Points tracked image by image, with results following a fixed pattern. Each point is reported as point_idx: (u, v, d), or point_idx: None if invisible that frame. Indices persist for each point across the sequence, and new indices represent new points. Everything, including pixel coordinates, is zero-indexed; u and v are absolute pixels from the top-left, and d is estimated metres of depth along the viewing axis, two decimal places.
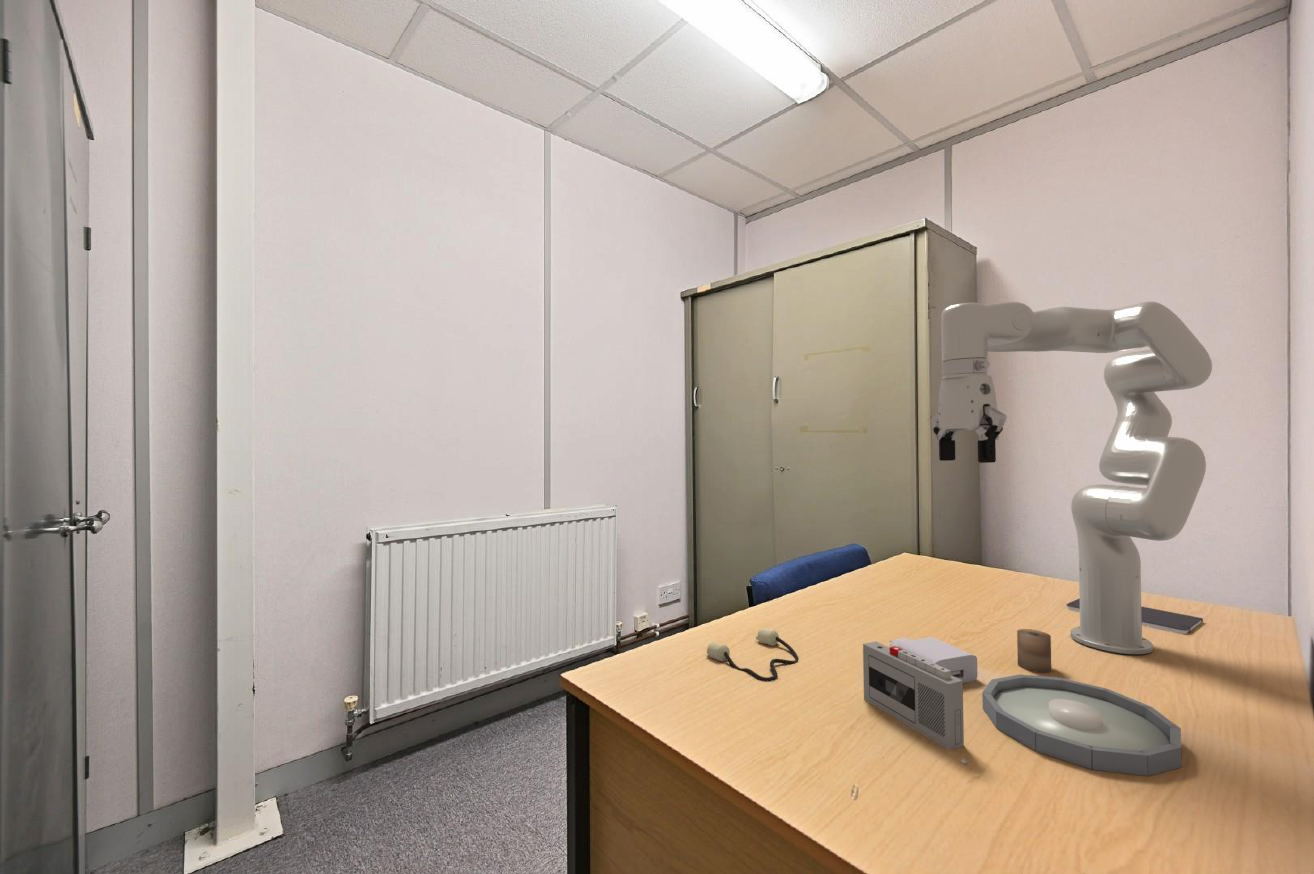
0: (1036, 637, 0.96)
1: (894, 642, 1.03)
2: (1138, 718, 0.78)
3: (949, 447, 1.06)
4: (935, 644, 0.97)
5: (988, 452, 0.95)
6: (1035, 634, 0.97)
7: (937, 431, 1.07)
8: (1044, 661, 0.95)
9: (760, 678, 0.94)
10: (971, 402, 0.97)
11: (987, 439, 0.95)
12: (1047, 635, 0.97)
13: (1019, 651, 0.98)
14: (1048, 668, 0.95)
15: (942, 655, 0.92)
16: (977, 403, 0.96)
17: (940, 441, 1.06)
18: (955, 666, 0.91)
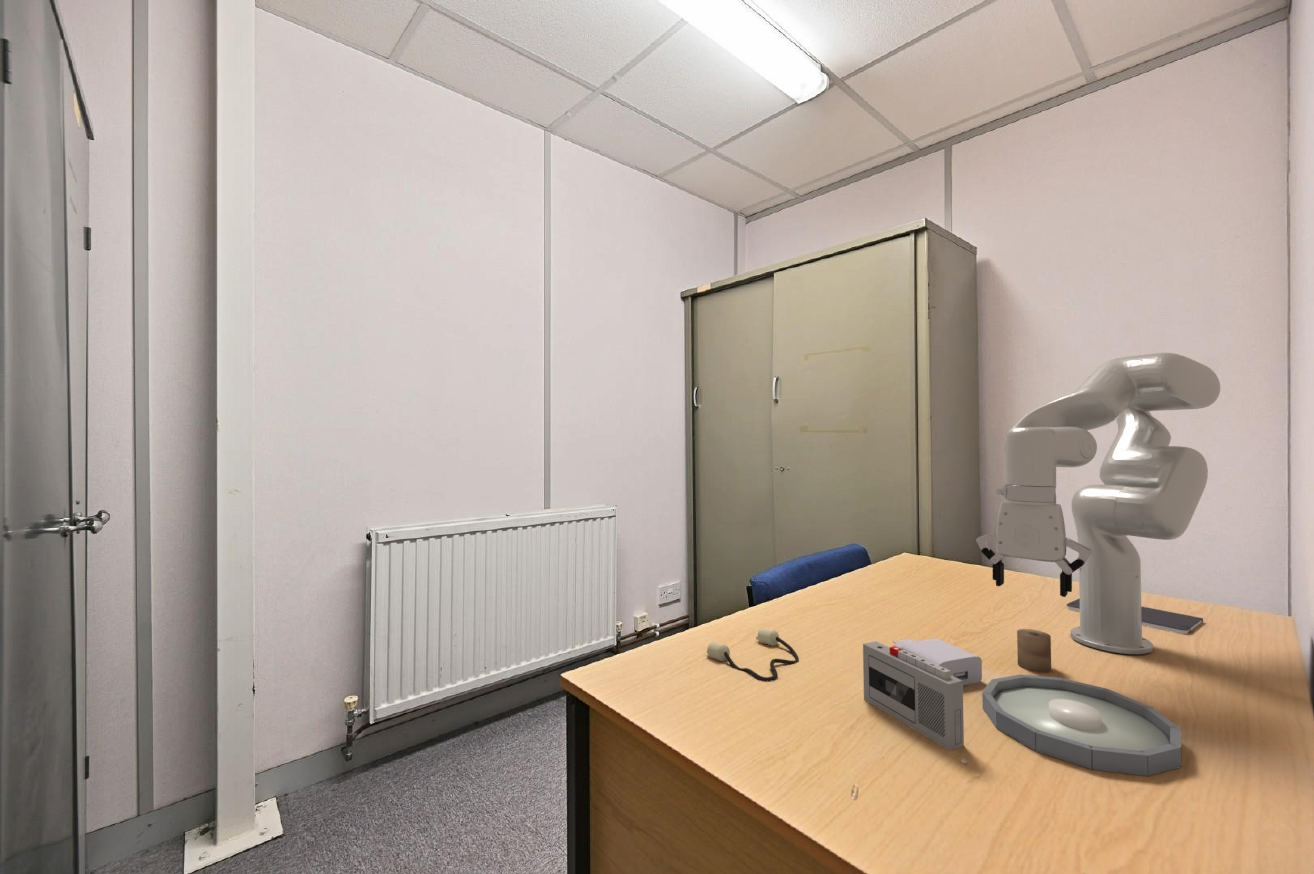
0: (1036, 637, 0.96)
1: (898, 643, 1.02)
2: (1138, 718, 0.78)
3: None
4: (939, 645, 0.96)
5: None
6: (1035, 634, 0.97)
7: None
8: (1044, 661, 0.95)
9: (760, 678, 0.94)
10: None
11: None
12: (1047, 635, 0.97)
13: (1019, 651, 0.98)
14: (1048, 668, 0.95)
15: (946, 656, 0.92)
16: None
17: None
18: (959, 667, 0.91)
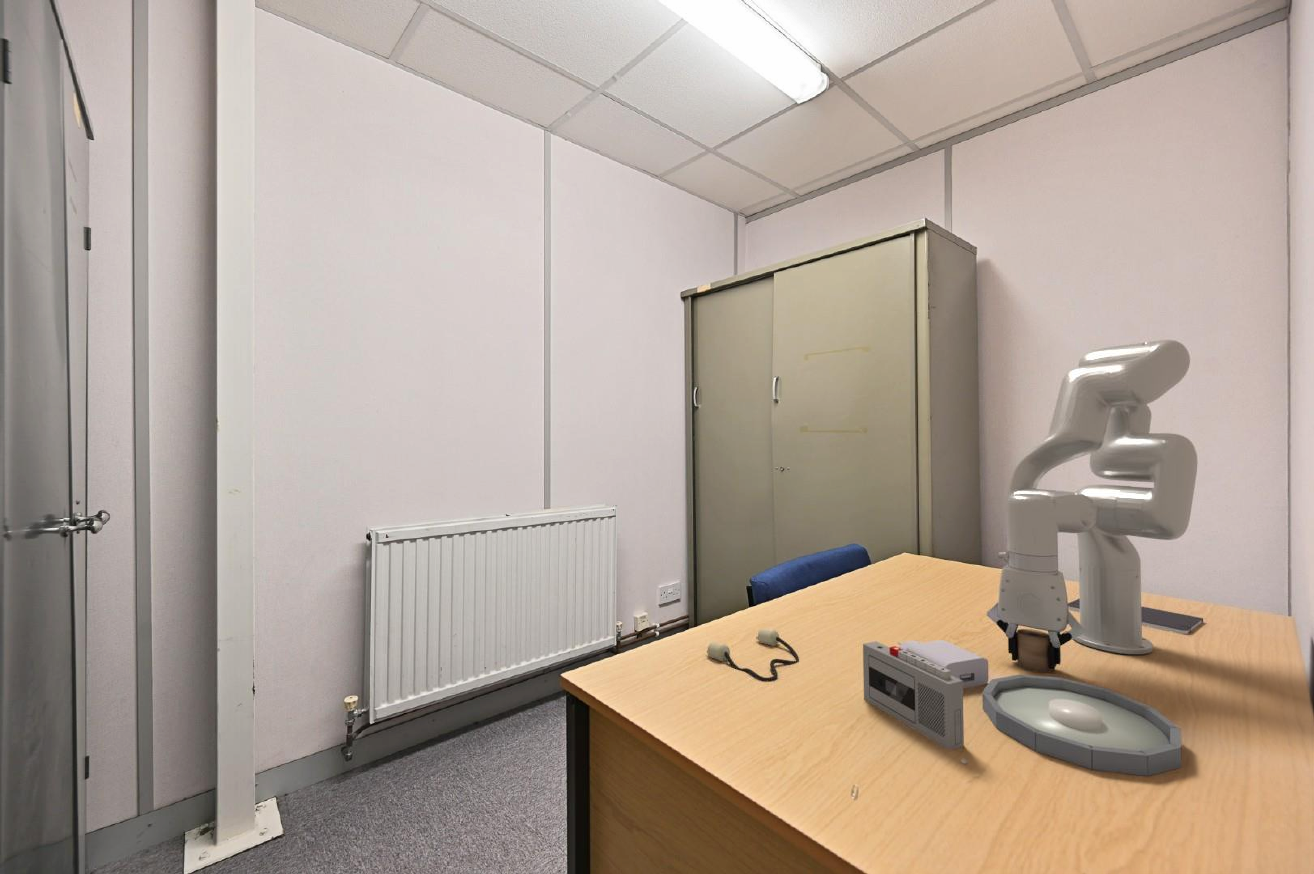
0: (1036, 637, 0.96)
1: (903, 644, 1.01)
2: (1138, 718, 0.78)
3: None
4: (945, 647, 0.96)
5: None
6: (1035, 634, 0.97)
7: None
8: (1044, 661, 0.95)
9: (760, 678, 0.94)
10: None
11: None
12: (1047, 635, 0.97)
13: (1019, 651, 0.98)
14: (1048, 668, 0.95)
15: (952, 658, 0.91)
16: None
17: None
18: (966, 669, 0.90)
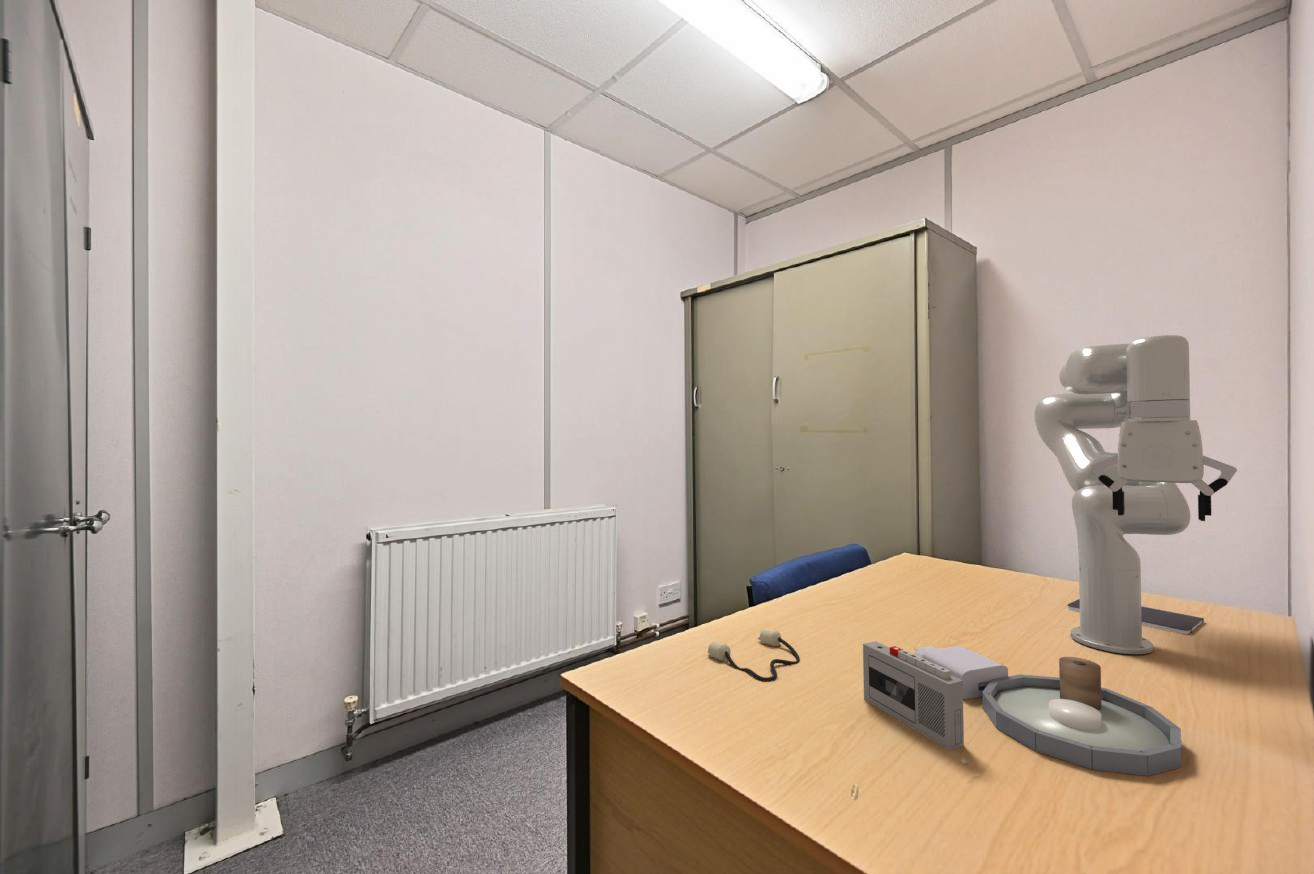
0: (1083, 668, 0.80)
1: (919, 650, 0.99)
2: (1138, 718, 0.78)
3: None
4: (962, 653, 0.93)
5: None
6: (1082, 664, 0.82)
7: None
8: (1094, 697, 0.80)
9: (759, 678, 0.94)
10: None
11: None
12: (1096, 665, 0.81)
13: (1062, 684, 0.82)
14: (1098, 705, 0.80)
15: (971, 665, 0.88)
16: None
17: None
18: (984, 677, 0.87)
